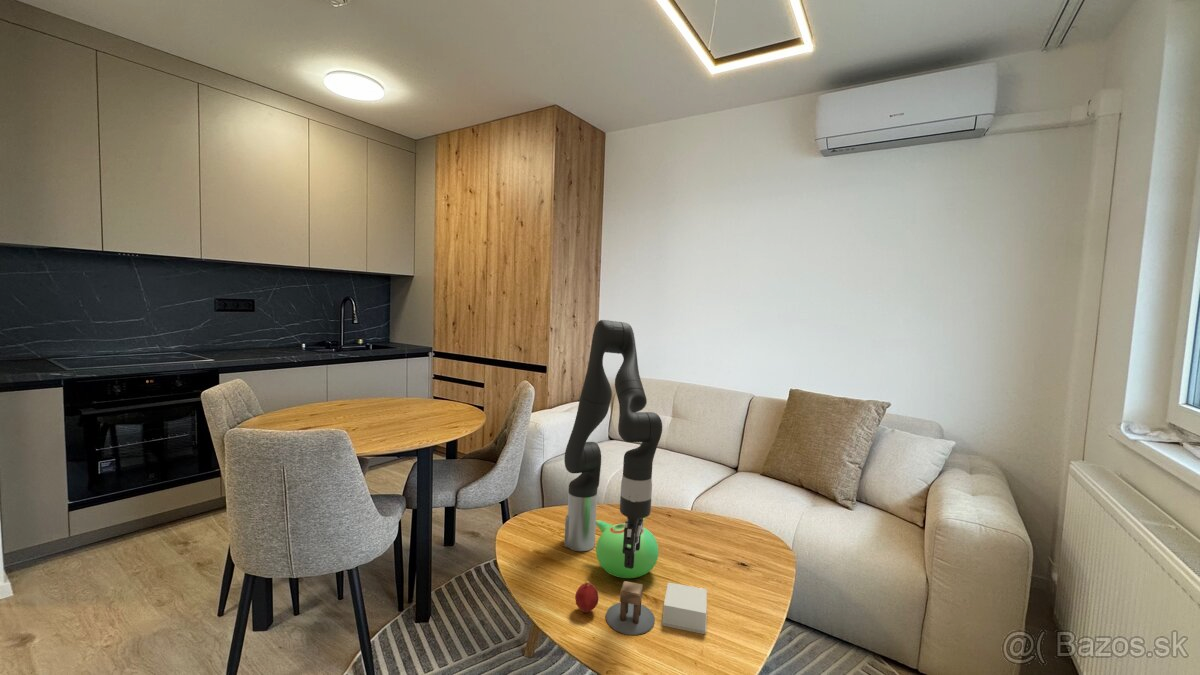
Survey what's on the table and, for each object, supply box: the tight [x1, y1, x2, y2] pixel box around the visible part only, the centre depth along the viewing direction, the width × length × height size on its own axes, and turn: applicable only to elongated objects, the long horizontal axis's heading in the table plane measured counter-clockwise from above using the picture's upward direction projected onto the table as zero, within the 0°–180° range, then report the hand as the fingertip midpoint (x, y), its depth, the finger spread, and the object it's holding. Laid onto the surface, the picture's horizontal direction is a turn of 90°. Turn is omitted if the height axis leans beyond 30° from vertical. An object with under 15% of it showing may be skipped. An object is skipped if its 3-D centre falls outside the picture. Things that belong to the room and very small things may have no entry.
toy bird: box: [595, 518, 660, 579], centre depth 134 cm, size 18×17×15 cm
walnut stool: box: [619, 580, 644, 624], centre depth 114 cm, size 5×5×7 cm
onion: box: [574, 580, 599, 614], centre depth 116 cm, size 6×6×8 cm
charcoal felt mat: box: [605, 601, 656, 636], centre depth 114 cm, size 12×12×1 cm
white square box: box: [661, 581, 708, 635], centre depth 116 cm, size 10×10×5 cm
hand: (632, 558), depth 114 cm, fingers open, 8 cm apart
